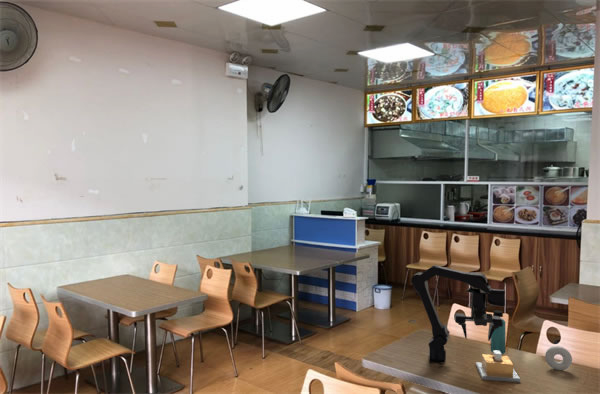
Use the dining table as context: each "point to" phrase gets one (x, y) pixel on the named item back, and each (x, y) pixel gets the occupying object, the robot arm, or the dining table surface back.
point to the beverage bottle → (498, 336)
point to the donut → (561, 351)
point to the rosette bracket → (497, 369)
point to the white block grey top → (497, 356)
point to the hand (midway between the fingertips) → (477, 339)
